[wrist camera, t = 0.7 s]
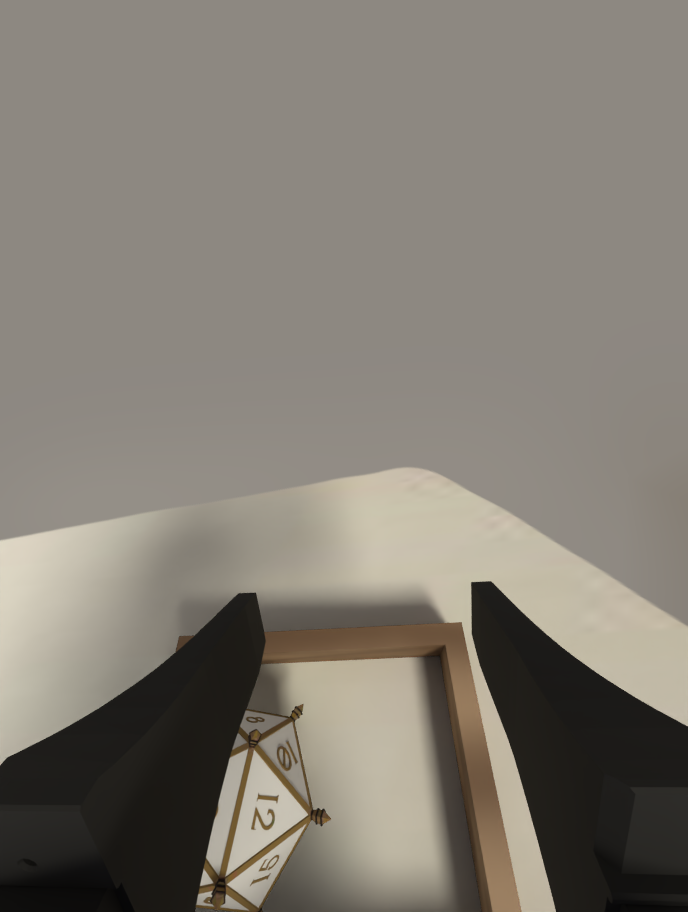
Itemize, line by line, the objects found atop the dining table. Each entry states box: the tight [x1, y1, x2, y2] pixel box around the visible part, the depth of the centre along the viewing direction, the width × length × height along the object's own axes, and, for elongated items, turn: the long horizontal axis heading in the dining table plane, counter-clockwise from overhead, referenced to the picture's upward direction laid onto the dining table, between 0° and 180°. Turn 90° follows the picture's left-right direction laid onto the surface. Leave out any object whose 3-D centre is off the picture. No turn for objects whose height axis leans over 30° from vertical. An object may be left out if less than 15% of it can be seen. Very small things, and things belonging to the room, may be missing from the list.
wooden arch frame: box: [176, 622, 521, 912], centre depth 20 cm, size 15×18×3 cm
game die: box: [196, 704, 331, 912], centre depth 19 cm, size 9×8×10 cm
